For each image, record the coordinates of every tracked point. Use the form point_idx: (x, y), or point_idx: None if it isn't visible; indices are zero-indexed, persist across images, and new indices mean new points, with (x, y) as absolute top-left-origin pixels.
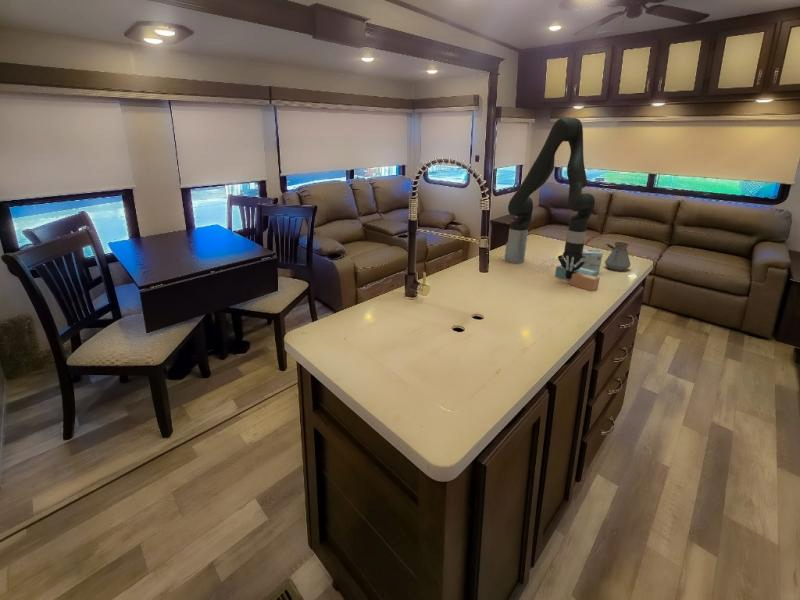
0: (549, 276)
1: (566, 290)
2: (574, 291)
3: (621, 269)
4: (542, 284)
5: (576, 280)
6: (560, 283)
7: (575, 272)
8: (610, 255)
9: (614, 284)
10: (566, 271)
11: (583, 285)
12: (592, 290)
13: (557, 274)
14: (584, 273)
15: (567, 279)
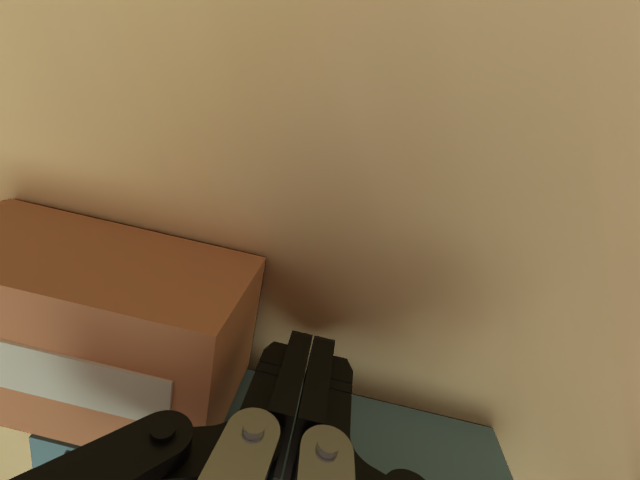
0: (552, 408)
1: (229, 17)
2: (139, 52)
3: None
4: (601, 46)
5: (167, 274)
6: (378, 248)
7: None
8: None
9: (3, 473)
10: (342, 420)
11: (90, 234)
12: (5, 202)
13: (475, 450)
14: None
15: None
